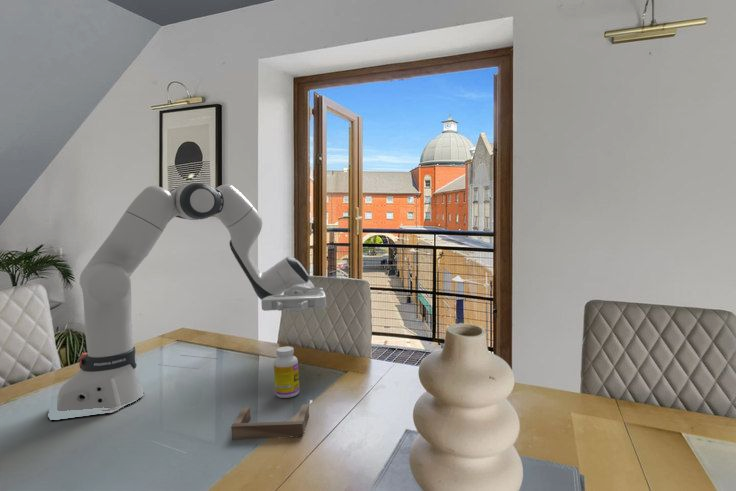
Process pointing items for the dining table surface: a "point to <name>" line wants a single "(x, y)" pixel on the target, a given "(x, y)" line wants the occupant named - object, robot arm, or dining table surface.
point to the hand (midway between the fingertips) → (290, 307)
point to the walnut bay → (268, 426)
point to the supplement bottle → (286, 373)
